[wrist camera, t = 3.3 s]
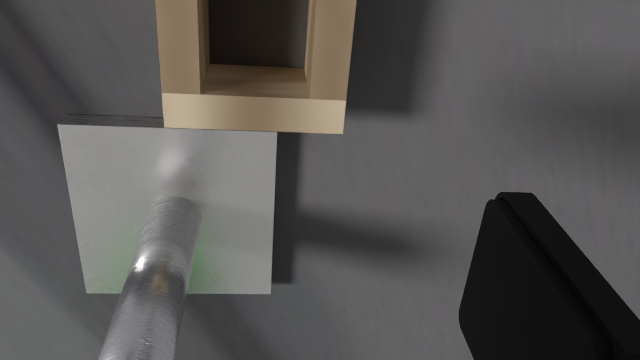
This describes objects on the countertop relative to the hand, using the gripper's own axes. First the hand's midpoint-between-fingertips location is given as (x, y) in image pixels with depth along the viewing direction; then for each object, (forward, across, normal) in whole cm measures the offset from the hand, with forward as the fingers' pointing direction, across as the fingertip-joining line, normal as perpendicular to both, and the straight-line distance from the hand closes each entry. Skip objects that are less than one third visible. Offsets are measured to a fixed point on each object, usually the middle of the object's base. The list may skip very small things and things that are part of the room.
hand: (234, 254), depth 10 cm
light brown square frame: (+17, 0, 0) cm, 17 cm away
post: (+17, +4, +10) cm, 20 cm away
